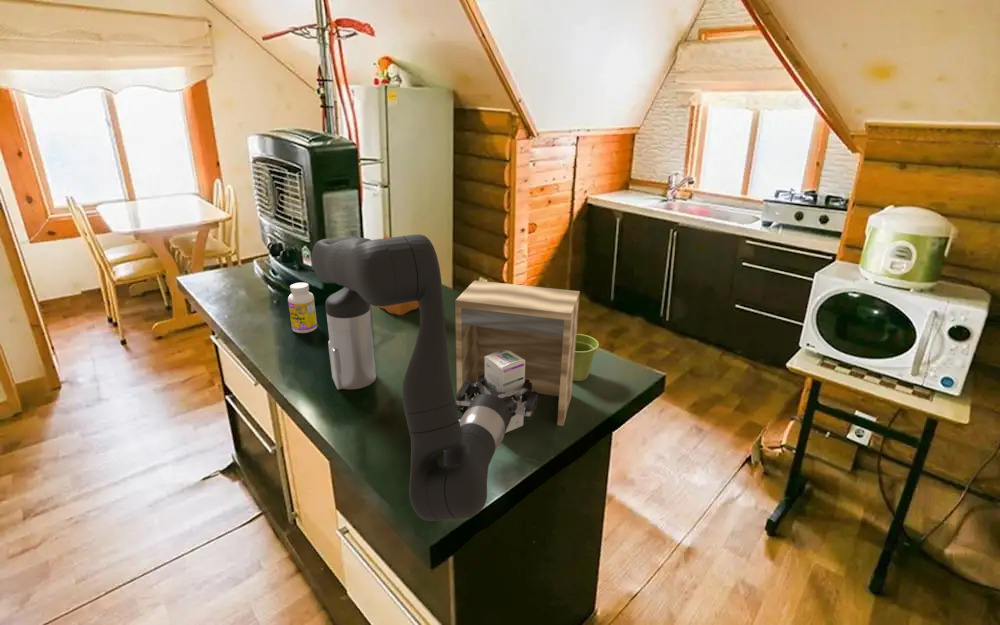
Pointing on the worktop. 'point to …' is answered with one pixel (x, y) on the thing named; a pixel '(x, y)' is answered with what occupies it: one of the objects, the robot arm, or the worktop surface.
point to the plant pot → (583, 356)
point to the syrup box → (505, 377)
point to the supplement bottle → (302, 308)
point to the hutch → (519, 334)
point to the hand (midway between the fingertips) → (506, 380)
